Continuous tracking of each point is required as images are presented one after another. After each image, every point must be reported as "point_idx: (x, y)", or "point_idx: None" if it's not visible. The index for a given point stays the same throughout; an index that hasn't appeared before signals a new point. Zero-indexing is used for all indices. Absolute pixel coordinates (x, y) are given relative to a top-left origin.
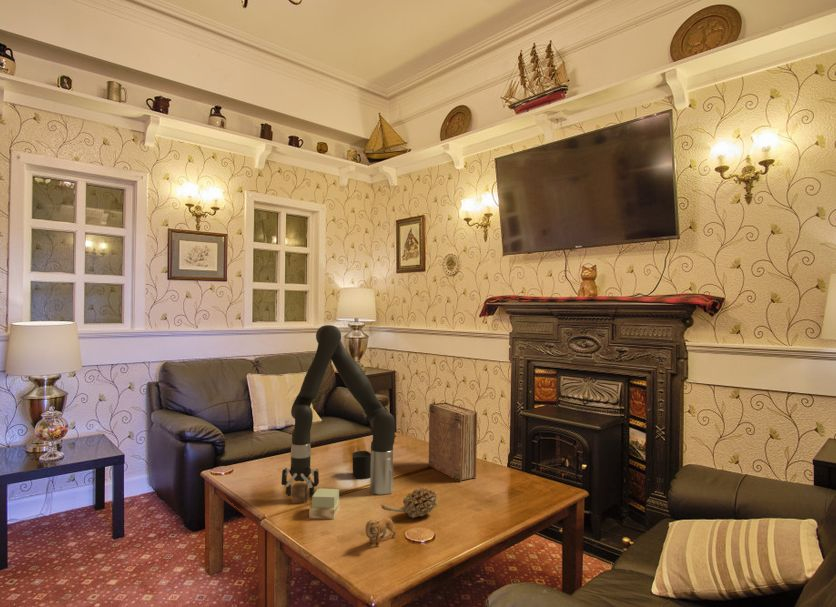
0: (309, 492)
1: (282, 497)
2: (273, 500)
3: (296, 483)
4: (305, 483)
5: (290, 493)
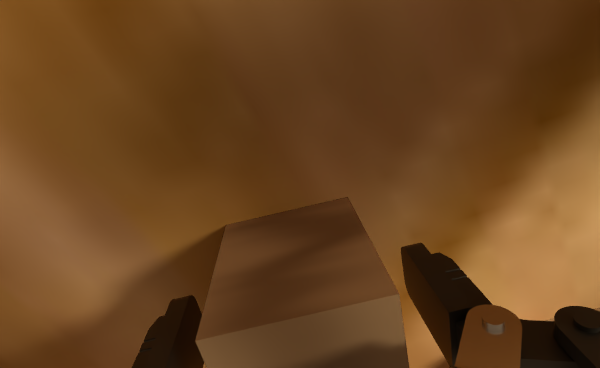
0: (431, 324)
1: (98, 259)
2: (77, 335)
3: (217, 355)
4: (355, 312)
5: (193, 318)
